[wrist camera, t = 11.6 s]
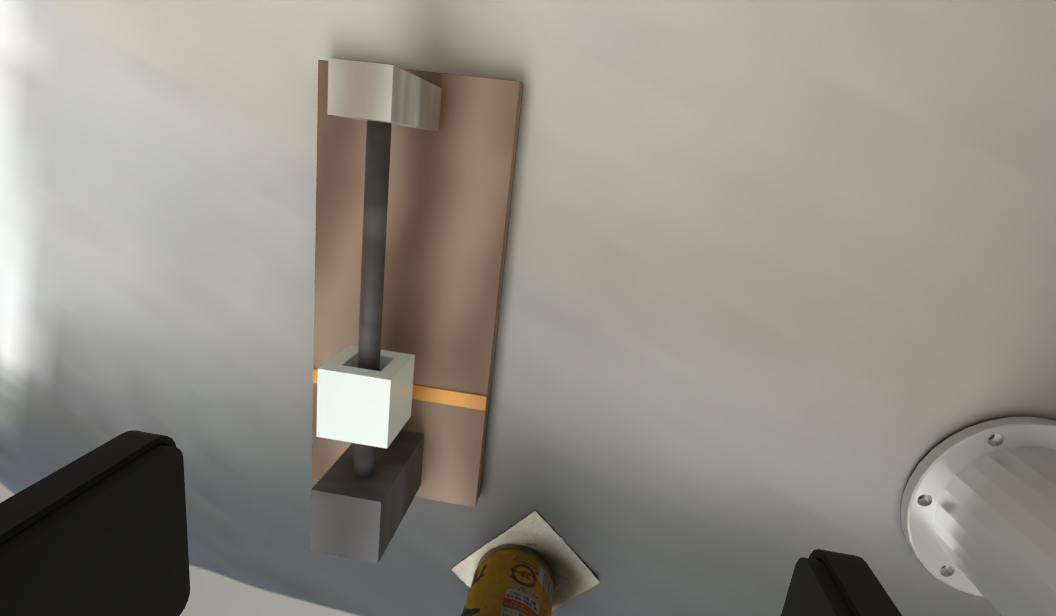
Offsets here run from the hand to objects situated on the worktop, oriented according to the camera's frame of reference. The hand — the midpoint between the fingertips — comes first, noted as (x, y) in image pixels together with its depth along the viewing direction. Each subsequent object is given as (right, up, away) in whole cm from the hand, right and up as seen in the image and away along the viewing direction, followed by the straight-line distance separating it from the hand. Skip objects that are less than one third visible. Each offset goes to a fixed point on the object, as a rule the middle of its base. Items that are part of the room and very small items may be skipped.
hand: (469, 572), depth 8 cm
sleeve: (-8, 0, +25) cm, 27 cm away
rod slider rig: (-7, +5, +29) cm, 30 cm away
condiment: (+1, -16, +34) cm, 37 cm away
